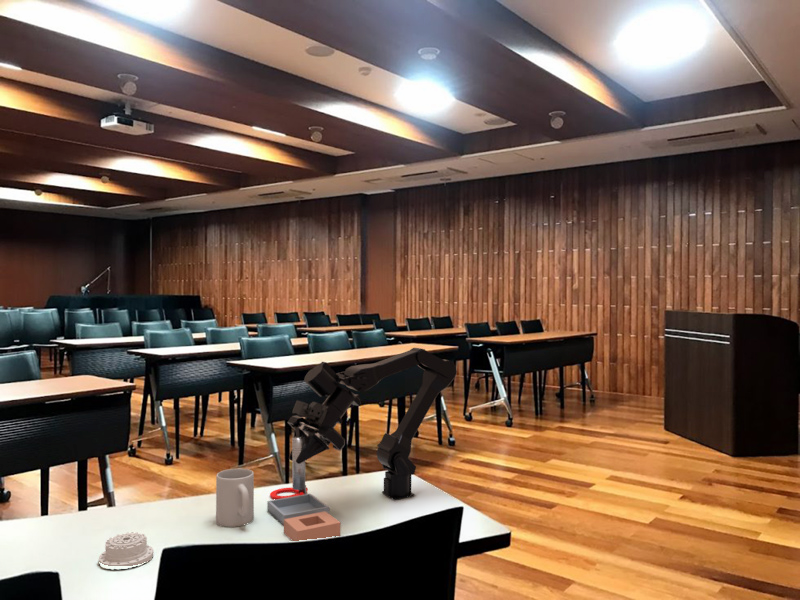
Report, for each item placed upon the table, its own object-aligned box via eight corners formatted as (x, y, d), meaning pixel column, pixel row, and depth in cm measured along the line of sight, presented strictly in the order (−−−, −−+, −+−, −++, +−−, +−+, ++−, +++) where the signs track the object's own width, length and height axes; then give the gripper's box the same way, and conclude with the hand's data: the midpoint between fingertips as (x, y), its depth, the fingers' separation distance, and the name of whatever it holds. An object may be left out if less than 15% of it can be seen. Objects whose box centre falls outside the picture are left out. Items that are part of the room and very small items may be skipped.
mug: (211, 518, 149) (211, 471, 148) (246, 511, 153) (246, 466, 153) (227, 535, 139) (227, 485, 138) (264, 527, 143) (265, 479, 143)
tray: (310, 503, 159) (310, 493, 159) (329, 517, 150) (329, 507, 150) (267, 511, 153) (267, 501, 153) (284, 526, 144) (284, 515, 144)
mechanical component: (159, 549, 131) (109, 551, 131) (159, 528, 131) (109, 529, 130) (144, 571, 121) (90, 572, 121) (144, 548, 121) (90, 549, 121)
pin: (304, 485, 152) (304, 435, 152) (306, 489, 149) (305, 438, 149) (291, 486, 152) (291, 436, 151) (293, 490, 149) (292, 439, 148)
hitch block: (325, 524, 145) (325, 511, 145) (340, 536, 139) (340, 522, 138) (283, 532, 140) (283, 519, 140) (297, 545, 133) (297, 531, 133)
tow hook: (266, 502, 161) (302, 501, 161) (264, 452, 161) (300, 451, 160) (274, 492, 169) (308, 491, 169) (272, 444, 169) (306, 443, 169)
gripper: (294, 383, 160) (253, 433, 153) (333, 393, 145) (290, 449, 138) (321, 410, 165) (283, 460, 158) (362, 423, 150) (322, 478, 143)
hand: (293, 461), depth 149 cm, fingers closed on pin, 3 cm apart
